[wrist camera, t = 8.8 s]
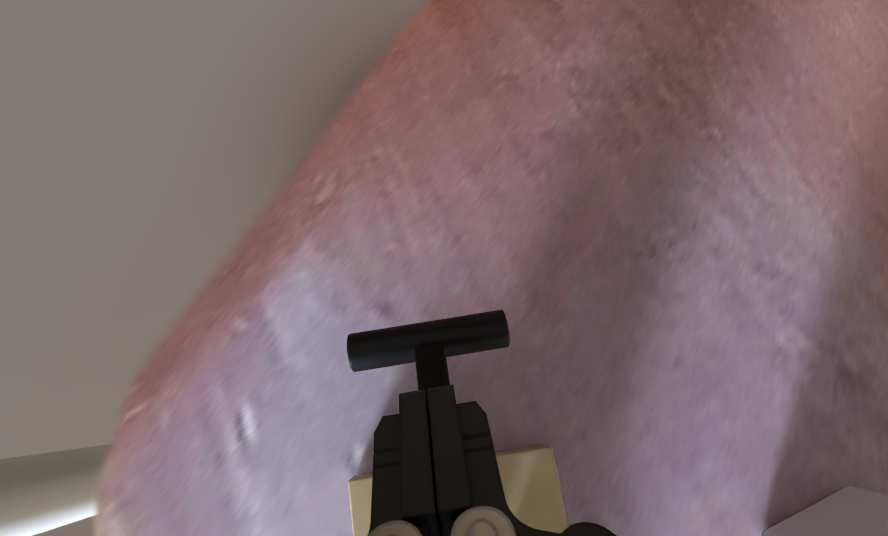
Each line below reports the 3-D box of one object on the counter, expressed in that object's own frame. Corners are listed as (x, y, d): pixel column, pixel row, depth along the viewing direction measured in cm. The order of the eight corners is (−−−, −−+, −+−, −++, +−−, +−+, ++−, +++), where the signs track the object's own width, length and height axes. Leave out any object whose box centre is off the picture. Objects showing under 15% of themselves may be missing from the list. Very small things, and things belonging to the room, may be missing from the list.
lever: (358, 352, 20) (343, 319, 18) (501, 329, 20) (502, 294, 18) (366, 908, 11) (338, 961, 9) (633, 861, 11) (661, 903, 9)
